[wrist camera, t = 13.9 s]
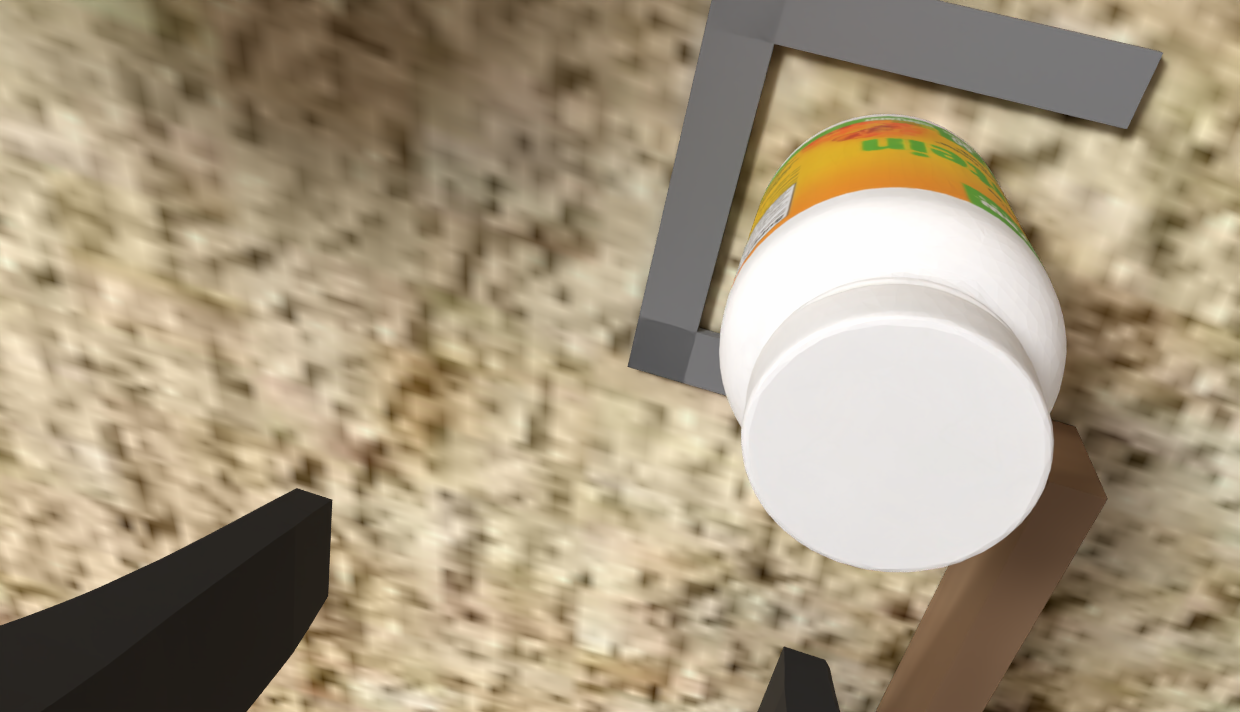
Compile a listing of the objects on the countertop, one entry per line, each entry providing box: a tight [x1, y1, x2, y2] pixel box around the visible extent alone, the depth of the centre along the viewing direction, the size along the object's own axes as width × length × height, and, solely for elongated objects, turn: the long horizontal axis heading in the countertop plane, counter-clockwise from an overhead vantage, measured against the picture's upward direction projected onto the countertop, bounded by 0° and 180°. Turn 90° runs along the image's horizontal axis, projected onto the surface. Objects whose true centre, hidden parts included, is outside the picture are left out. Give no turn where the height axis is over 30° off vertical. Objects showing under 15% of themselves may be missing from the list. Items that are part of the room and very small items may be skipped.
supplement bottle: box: [719, 114, 1067, 572], centre depth 16 cm, size 5×5×10 cm
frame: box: [628, 0, 1163, 395], centre depth 20 cm, size 9×10×1 cm
